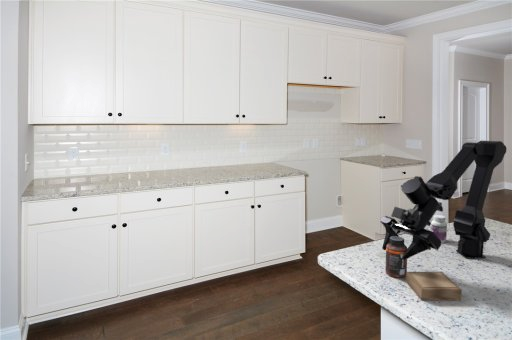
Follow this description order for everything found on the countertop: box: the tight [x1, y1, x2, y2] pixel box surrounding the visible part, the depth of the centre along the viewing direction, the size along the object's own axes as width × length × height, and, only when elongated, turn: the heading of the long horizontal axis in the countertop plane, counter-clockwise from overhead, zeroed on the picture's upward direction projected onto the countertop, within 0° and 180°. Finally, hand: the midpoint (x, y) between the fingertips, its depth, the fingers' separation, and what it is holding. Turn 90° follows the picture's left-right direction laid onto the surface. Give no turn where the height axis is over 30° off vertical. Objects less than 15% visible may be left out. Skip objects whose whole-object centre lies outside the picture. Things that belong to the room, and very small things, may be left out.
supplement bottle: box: [385, 235, 408, 279], centre depth 100 cm, size 6×6×11 cm
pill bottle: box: [430, 214, 448, 244], centre depth 126 cm, size 5×5×10 cm
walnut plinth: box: [405, 271, 463, 301], centre depth 90 cm, size 10×10×3 cm
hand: (393, 253), depth 99 cm, fingers open, 8 cm apart
